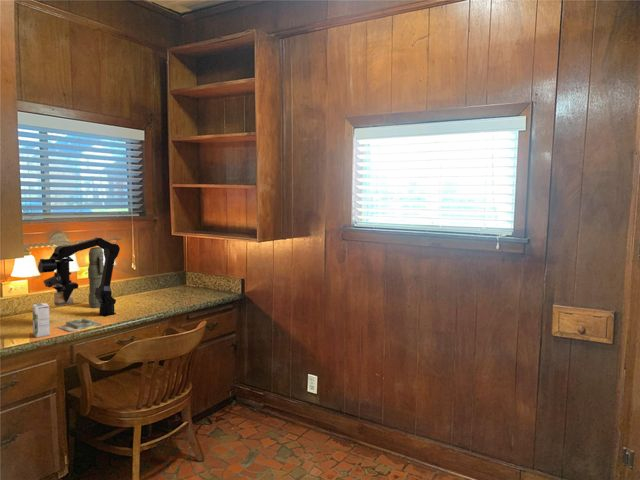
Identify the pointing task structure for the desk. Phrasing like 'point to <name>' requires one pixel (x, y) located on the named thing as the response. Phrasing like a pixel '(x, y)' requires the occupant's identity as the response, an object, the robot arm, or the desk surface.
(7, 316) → the desk surface
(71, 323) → the socket plate
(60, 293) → the plug block
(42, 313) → the syrup box
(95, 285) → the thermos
